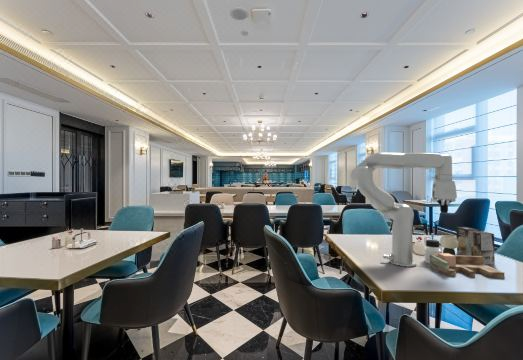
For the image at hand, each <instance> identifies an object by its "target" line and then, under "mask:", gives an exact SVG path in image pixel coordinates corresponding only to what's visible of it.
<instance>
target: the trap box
mask: <svg viewBox="0 0 523 360" xmlns="http://www.w3.org/2000/svg"><path fill="white" fill-rule="evenodd" d="M454 256H456V267H451V266H449V263H448V262H446V261H444V260H442V259H440V258H438V255H430V263H429V267H430V268H433V270H436V271H438V272H439V273H440V274H442V275H444V276H445V277H456V275H457V273H462V274H464V275H465V276H468V277H470V278H475V277H476V274H481V275H483V276H485V277H487V278H490V279H505V272H504V271H501V270H499V269H496V268H494V267H491V266H490V265H488V264H483V257H482V256H464V255H460V254H459V255H457V254H456V255H454Z"/></svg>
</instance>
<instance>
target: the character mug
mask: <svg viewBox="0 0 523 360" xmlns="http://www.w3.org/2000/svg"><path fill="white" fill-rule="evenodd" d="M439 244H441V248H443V249H442V253H449V254H452V255H457V254H456V251H455V249H457V247H458V241H457V235H449V234H441V235H440V238H439Z"/></svg>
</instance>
